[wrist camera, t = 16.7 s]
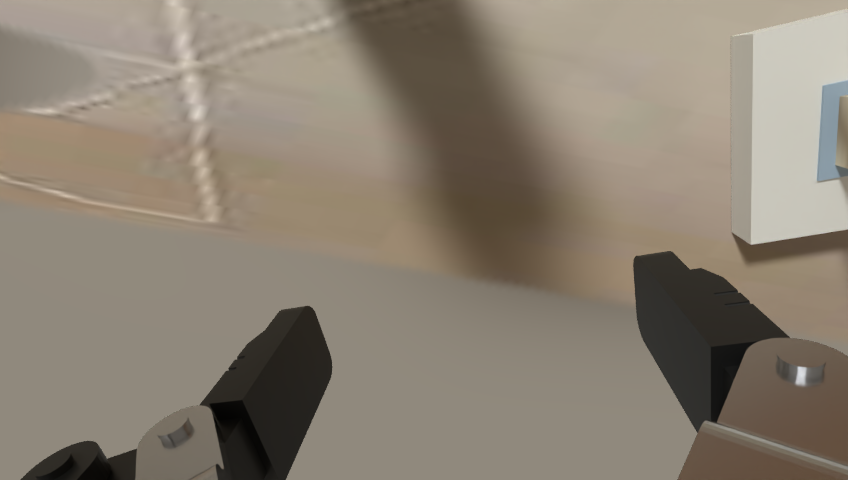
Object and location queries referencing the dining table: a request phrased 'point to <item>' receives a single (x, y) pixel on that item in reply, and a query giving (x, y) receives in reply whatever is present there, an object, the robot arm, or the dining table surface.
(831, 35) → the base plate
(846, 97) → the maple column
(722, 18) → the dining table surface
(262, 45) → the dining table surface
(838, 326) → the dining table surface
